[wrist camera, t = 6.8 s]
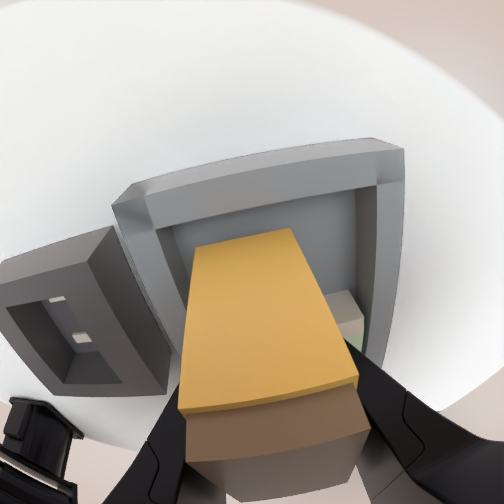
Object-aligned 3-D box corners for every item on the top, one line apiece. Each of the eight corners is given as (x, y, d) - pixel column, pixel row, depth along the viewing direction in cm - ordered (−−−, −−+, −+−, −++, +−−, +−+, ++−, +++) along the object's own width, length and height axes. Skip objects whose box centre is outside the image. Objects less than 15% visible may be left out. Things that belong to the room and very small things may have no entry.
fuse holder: (171, 351, 15) (166, 394, 13) (66, 360, 16) (53, 395, 13) (112, 225, 12) (86, 260, 9) (3, 260, 12) (-25, 291, 9)
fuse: (346, 353, 16) (357, 379, 14) (299, 365, 16) (306, 393, 15) (350, 288, 14) (366, 316, 12) (291, 302, 14) (301, 333, 12)
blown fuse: (301, 326, 12) (350, 482, 6) (227, 341, 12) (238, 503, 6) (289, 227, 10) (378, 421, 4) (195, 247, 10) (175, 458, 4)
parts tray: (363, 358, 18) (376, 386, 15) (217, 390, 18) (218, 422, 16) (371, 137, 11) (403, 148, 9) (131, 184, 11) (111, 205, 9)
